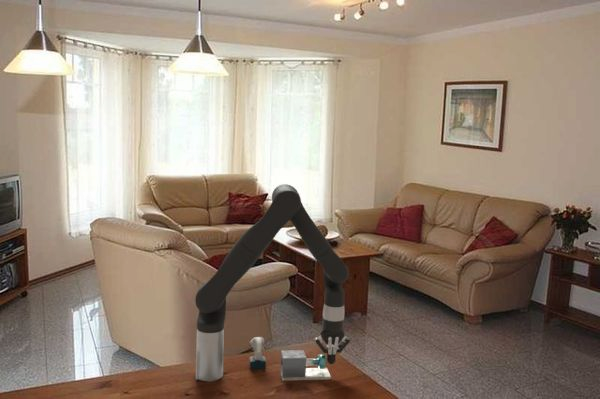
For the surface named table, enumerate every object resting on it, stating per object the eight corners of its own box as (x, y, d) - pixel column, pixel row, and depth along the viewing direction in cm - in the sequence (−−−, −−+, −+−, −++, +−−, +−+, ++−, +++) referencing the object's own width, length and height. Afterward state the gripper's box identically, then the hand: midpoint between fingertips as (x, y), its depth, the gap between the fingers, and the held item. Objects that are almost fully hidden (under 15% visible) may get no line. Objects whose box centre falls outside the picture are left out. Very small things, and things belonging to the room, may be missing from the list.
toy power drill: (264, 362, 204) (265, 333, 203) (265, 371, 197) (267, 342, 195) (249, 362, 204) (249, 333, 202) (250, 372, 196) (251, 342, 194)
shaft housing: (282, 380, 190) (283, 358, 189) (280, 371, 197) (281, 350, 196) (330, 379, 193) (331, 357, 192) (327, 370, 200) (328, 349, 199)
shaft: (286, 372, 191) (287, 358, 191) (285, 366, 196) (285, 352, 195) (325, 371, 193) (325, 357, 192) (322, 365, 198) (323, 351, 197)
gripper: (316, 320, 189) (314, 368, 191) (354, 320, 191) (351, 367, 193) (313, 312, 196) (310, 359, 198) (349, 312, 198) (346, 358, 200)
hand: (330, 363), depth 196 cm, fingers closed
